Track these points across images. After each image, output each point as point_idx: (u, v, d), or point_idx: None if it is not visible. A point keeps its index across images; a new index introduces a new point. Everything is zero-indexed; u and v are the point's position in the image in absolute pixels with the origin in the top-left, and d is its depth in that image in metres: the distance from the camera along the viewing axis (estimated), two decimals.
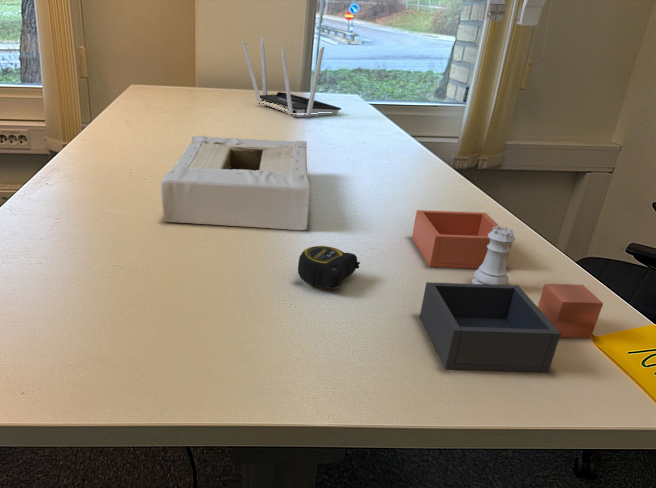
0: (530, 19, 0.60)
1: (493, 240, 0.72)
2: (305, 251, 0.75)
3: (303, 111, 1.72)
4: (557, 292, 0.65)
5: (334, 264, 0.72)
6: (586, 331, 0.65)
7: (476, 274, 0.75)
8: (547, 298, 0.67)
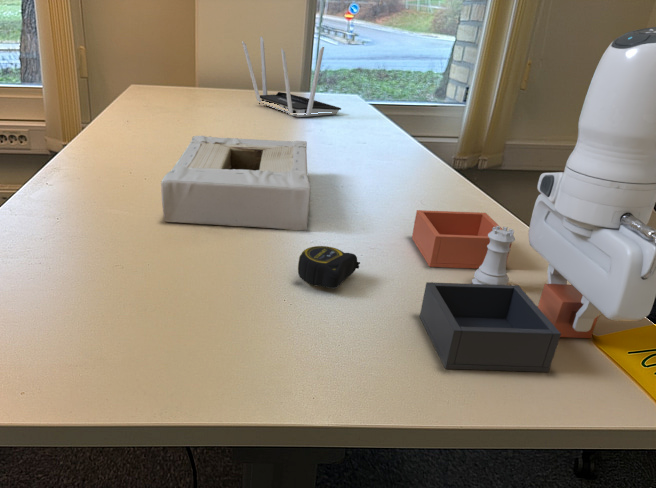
0: (583, 327, 0.63)
1: (493, 240, 0.72)
2: (305, 251, 0.75)
3: (303, 111, 1.72)
4: (557, 292, 0.65)
5: (334, 264, 0.72)
6: None
7: (476, 274, 0.75)
8: (547, 298, 0.67)
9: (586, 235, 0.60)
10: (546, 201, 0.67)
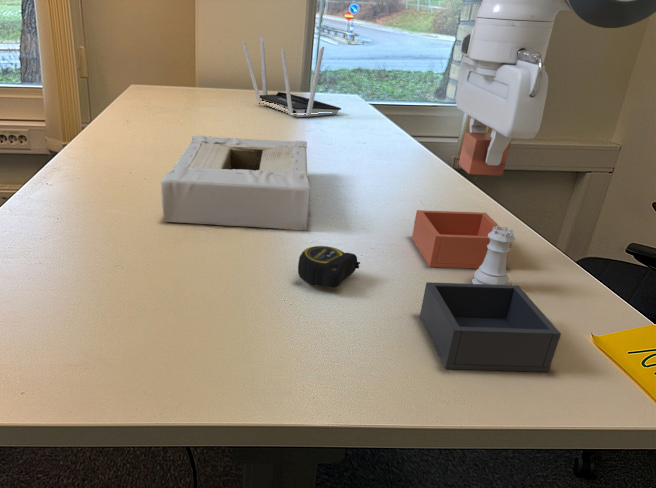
0: (494, 160, 0.74)
1: (493, 240, 0.72)
2: (305, 251, 0.75)
3: (303, 111, 1.72)
4: (474, 136, 0.76)
5: (334, 264, 0.72)
6: (498, 168, 0.76)
7: (476, 274, 0.75)
8: (466, 143, 0.78)
9: (492, 75, 0.71)
10: (466, 59, 0.78)
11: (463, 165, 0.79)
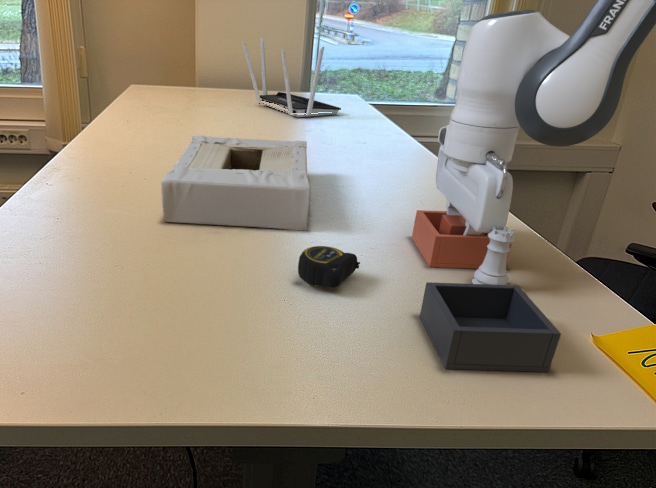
0: None
1: (493, 240, 0.72)
2: (305, 251, 0.75)
3: (303, 111, 1.72)
4: (449, 220, 0.83)
5: (334, 264, 0.72)
6: None
7: (476, 274, 0.75)
8: (443, 225, 0.85)
9: (465, 171, 0.78)
10: (443, 149, 0.85)
11: None
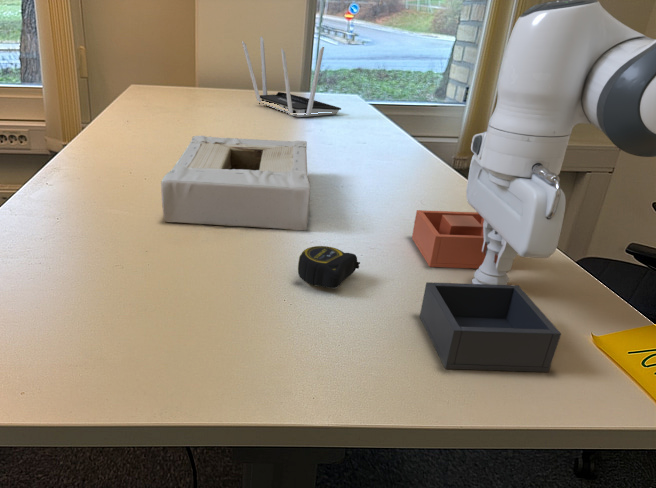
0: (504, 266, 0.72)
1: (493, 240, 0.72)
2: (305, 251, 0.75)
3: (303, 111, 1.72)
4: (449, 220, 0.83)
5: (334, 264, 0.72)
6: None
7: (476, 274, 0.75)
8: (443, 225, 0.85)
9: (505, 185, 0.68)
10: (478, 159, 0.74)
11: None
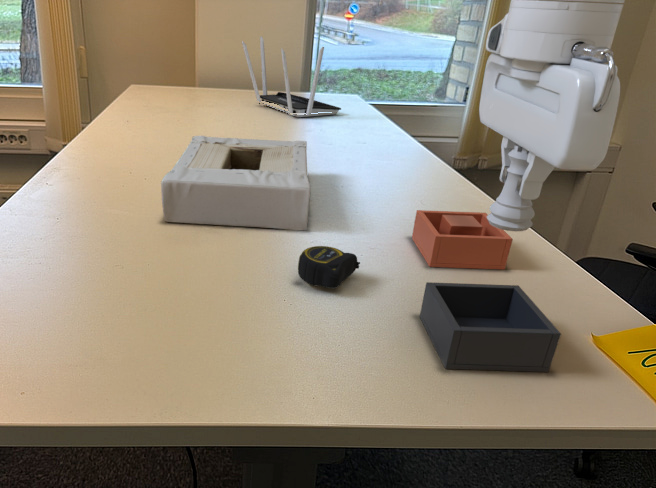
0: (530, 193, 0.55)
1: (516, 160, 0.56)
2: (305, 251, 0.75)
3: (303, 111, 1.72)
4: (449, 220, 0.83)
5: (334, 264, 0.72)
6: None
7: (492, 207, 0.59)
8: (443, 225, 0.85)
9: (534, 79, 0.51)
10: (495, 58, 0.58)
11: None
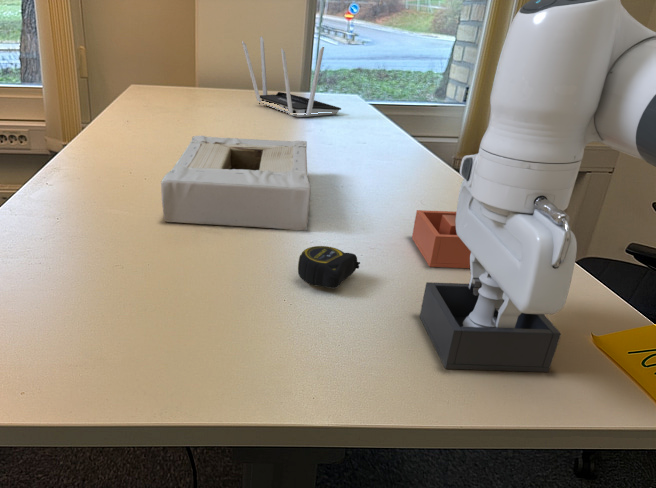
0: (506, 325, 0.58)
1: (486, 285, 0.60)
2: (305, 251, 0.75)
3: (303, 111, 1.72)
4: (449, 220, 0.83)
5: (334, 264, 0.72)
6: None
7: (465, 323, 0.63)
8: (443, 225, 0.85)
9: (501, 221, 0.55)
10: (468, 186, 0.62)
11: None
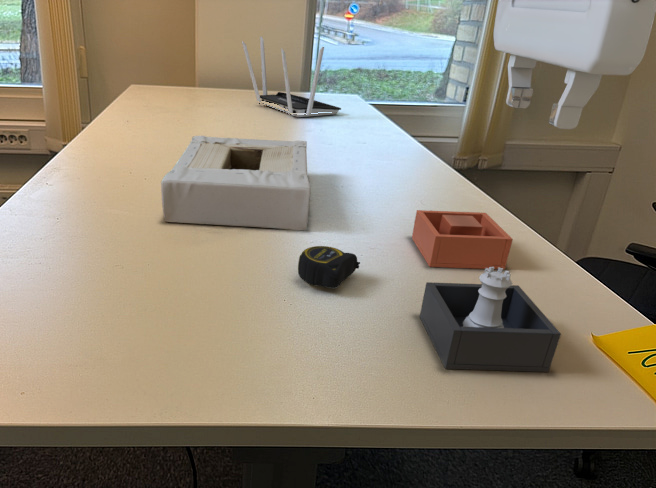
0: (567, 121, 0.47)
1: (486, 285, 0.60)
2: (305, 251, 0.75)
3: (303, 111, 1.72)
4: (449, 220, 0.83)
5: (334, 264, 0.72)
6: None
7: (465, 323, 0.63)
8: (443, 225, 0.85)
9: None
10: None
11: None
